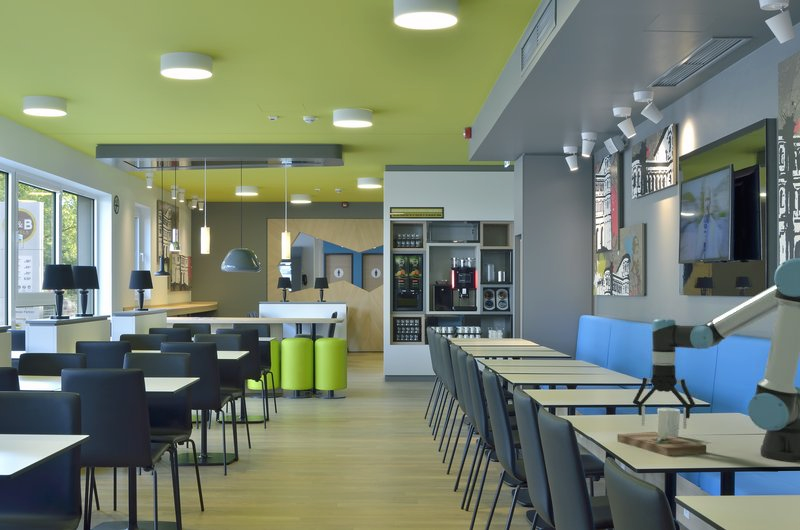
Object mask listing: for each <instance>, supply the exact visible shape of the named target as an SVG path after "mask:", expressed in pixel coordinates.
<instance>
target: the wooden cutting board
mask: <svg viewBox="0 0 800 530" xmlns="http://www.w3.org/2000/svg"><path fill="white" fill-rule="evenodd" d="M657 439H658V431H657V432H656V431H647V432H630V433H617V439H616V440H617V442H619V443H622V444H625V445H629V446H633V447H636V448H639V449H642V450H646V451H649V452H653V453H656V454H659V455H664V456H666V455H667V456H666V457H671V456H670V455H672V456H682V455H683V454H686V455H696V453H699V454H707V444H706V445H705V444H702V443H698V442H694V441H691V440H688V439H684V438H681V437H678V438H676V437H672V436H668V437H667V438H666V439H662V440H660V441H657Z"/></svg>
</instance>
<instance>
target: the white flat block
mask: <svg viewBox="0 0 800 530" xmlns="http://www.w3.org/2000/svg"><path fill="white" fill-rule="evenodd" d="M657 429H658V430H657V433H658V439H657V441H660V440H662V439H666V438H667V437H668V409H660V410H659V411H658V410H657Z"/></svg>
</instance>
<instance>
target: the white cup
mask: <svg viewBox="0 0 800 530" xmlns="http://www.w3.org/2000/svg"><path fill="white" fill-rule="evenodd" d="M660 409H668V436H672V437H676V438H679V430H680V422H681V421H680V419H681V409H679V408H674V407H658V408H657V412H658V411H659V410H660Z"/></svg>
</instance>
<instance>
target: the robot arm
mask: <svg viewBox="0 0 800 530" xmlns="http://www.w3.org/2000/svg"><path fill="white" fill-rule="evenodd" d="M773 279H774V285H771V287H768V288H767V289H765V290H763V291H761V292H759V293H758V294H756V295H754V296H753V297H751V298H749V299H747V300H745V301H743V302H741V303H740V304H738V305H736V306H734V307H733V308H731V309H729V310H728V311H726V312H724V313H721V314H720V315H718V316H717V317H715V318H713V319H712V320H710V321H708V322H706V323H704V324H699V325H678V324H676V320H675V319H671V318H656V319H654V320H653V321H652V331H651V334H652V335H651V336H652V352H651V353H652V354H651V355H652V356H651V357H652V358H651V359H652V363H653V364H652V365H651V366H652V369H651V370H652V371H651V372H652V375H651V378H650V377H646V376H645V377H643V378H642V382H641V383H642V384H641V386H640V387H639V390H638V391H637V393H636V395H635V397H634V399H633V401H632V403H633V404H634V405H637V407H638V410H637V411H638V416H641V426H645V424H646V406H645V405H643V404H644V403H646V402H647V400H648V399H649V398H650V397H651V396H652V395H653V394H654V393H655V392H656V390H657V392H666V393H670V392H671V393H672V394H673V395H674V396H675V397H676V398H677V400H679V402H680V403H681V404H682V405H683V407H684V408H683V413H682V414H683V417H682V418H683V425H682V426H683V427H682V428H683V429H685V430H686V429H687V419H690V416H691V409H693V408H695V407H696V402H695V400H694V399H693V397H692V394H691V393H690V391H689V389H688V387H687V385H686V379H685V378H681V379H677V378H676V365H675V364H676V348H683V349H686V348H687V349H697V350H703V349H704V350H705V349H710V347H711V348H712V347H714V346H717V345H719V344H720V343H721V342H722V341H723V340H725V339H727V338H728V337H730V336H733V335H734V334H736V333H739V332H740V331H741V330H744V329H745V328H747V327H750V325H753V324H755V323H756V322H759V321H761V320H762V319H764V318H766V317H768V316H770V315H771V314H773V313H775V312H776V316H775V321H774V327H773V331H772V335H771V341H770V347H769V352H768V356H767V360H766V365H765V371H764V375H763V378H762V379H761V380H759V381H758V382H757V383H756V384H757V385H756V388H755V394H754V396H753V397H752V398H751V399H750V400H749V403H748V406H747V412H748V413H747V414H748V415H749V416H748V417H749V418H750V420H751V421H752V423H753V424H755V426H756V427H758V428H760V429H762V430H765V431H766V432H765V433H764V434H765V435H764V438H763V441H762V444H761V445H760V456H762V457H764V458H768V459H772V460H777V459H778V460H777V461H785V460H787V461H788V462H800V386H795V379H796V375H797V374H796V373H797V368H798V364H799V359H800V257H793V258H789V259H787V260H785V261H782V263H780V264H779V265H778V266H777V268H776V269H775V272H774V278H773ZM650 383H651V384H652V386H653V387H652V388H651V390H649V391H648V392H647V394H646V395H644V397H642V399H641V400H640V398H641V396H642V394H643V392H644V390H645V388H646V386H647V385H649V384H650ZM676 384H678V386H680V387H681V388H682V390H683V392H684V395H685V396H686V399H687V400H688V402H687V401H686V399H685V398H684V397H683V396H682V394H681V393H680V392H679V391H678V390H677V389H676V387H675V386H676Z"/></svg>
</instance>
